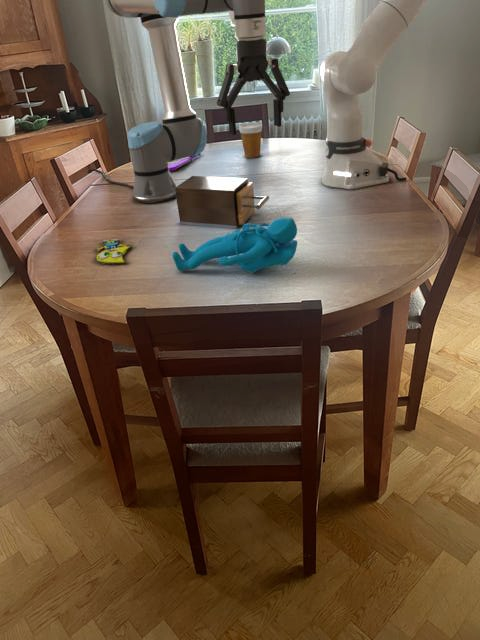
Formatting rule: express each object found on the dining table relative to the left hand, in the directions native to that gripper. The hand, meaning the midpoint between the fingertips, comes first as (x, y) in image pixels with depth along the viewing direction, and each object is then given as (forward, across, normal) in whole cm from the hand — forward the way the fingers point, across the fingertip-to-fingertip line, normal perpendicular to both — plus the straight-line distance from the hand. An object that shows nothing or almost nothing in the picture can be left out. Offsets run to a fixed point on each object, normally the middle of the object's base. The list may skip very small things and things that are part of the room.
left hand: (255, 129), depth 129 cm
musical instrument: (+25, -1, +75) cm, 80 cm away
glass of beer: (+25, +30, +64) cm, 75 cm away
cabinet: (+25, -12, +7) cm, 28 cm away
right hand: (-19, +8, +19) cm, 28 cm away
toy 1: (+25, -44, +1) cm, 51 cm away
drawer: (+24, -8, +3) cm, 25 cm away
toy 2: (+25, -20, -26) cm, 41 cm away
